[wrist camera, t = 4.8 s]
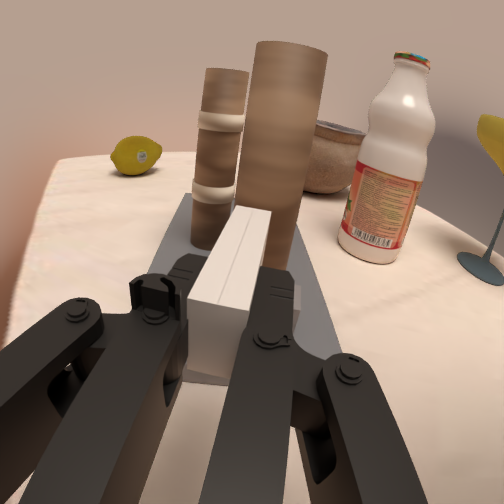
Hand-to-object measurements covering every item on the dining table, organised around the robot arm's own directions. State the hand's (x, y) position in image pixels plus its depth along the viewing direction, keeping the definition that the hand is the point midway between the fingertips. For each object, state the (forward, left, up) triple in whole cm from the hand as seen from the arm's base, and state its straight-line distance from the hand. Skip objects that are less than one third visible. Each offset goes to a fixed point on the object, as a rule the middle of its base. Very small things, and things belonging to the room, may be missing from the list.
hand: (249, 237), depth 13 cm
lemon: (+21, -48, -12) cm, 54 cm away
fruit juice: (-19, -25, -12) cm, 34 cm away
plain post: (-1, -6, -10) cm, 12 cm away
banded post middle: (+3, -18, -10) cm, 21 cm away
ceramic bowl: (-16, -52, -12) cm, 56 cm away
